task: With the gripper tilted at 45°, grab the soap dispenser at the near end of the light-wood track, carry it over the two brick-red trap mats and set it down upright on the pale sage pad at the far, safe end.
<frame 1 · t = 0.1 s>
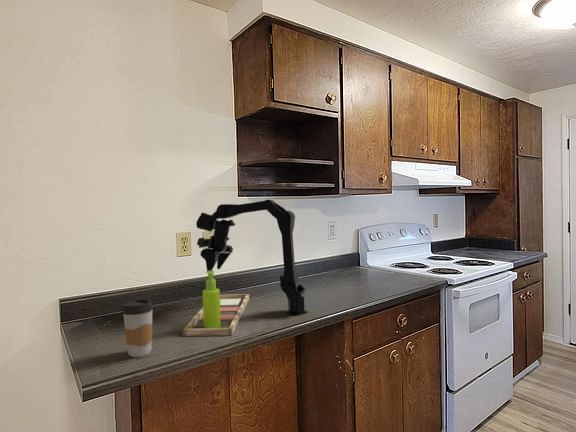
hand: (213, 271, 147), 15 cm above the counter, tool pointing down, fingers open, 9 cm apart
coffee cup: (140, 353, 106), on the counter
trap mats: (221, 313, 140), resting in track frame
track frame: (221, 313, 140), on the counter
soap dispenser: (212, 328, 125), resting in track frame
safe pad: (229, 302, 156), resting in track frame
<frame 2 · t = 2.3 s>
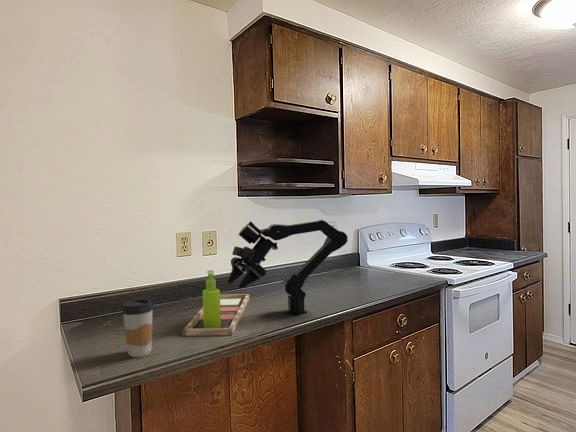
hand: (233, 285, 129), 13 cm above the counter, tool tilted 45°, fingers open, 9 cm apart
nothing on the counter moved.
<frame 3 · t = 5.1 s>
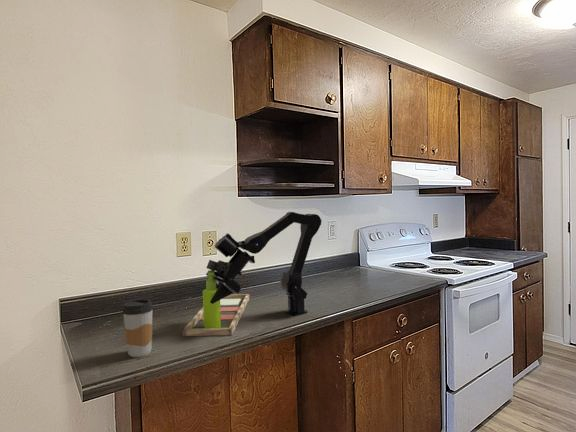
hand: (207, 300, 124), 10 cm above the counter, tool tilted 45°, fingers closed on soap dispenser, 6 cm apart
soap dispenser: (212, 328, 125), resting in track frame, touching gripper
everything else where it was.
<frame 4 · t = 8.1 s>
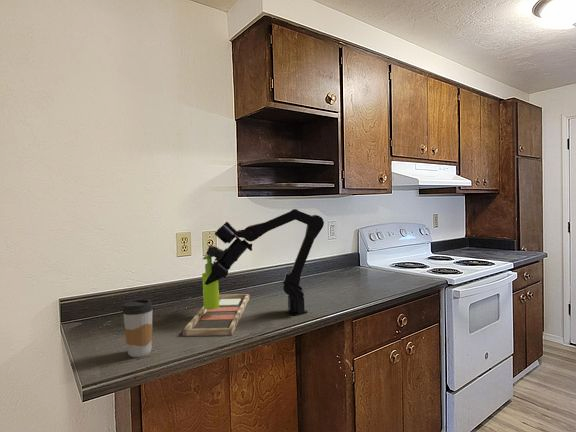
hand: (206, 282, 137), 13 cm above the counter, tool tilted 45°, fingers closed on soap dispenser, 6 cm apart
soap dispenser: (211, 308, 137), point 3 cm above the counter, touching gripper
everything else where it was.
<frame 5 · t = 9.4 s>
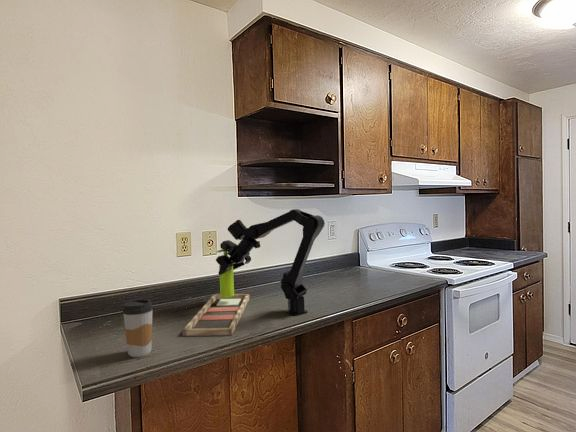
hand: (223, 272, 154), 13 cm above the counter, tool tilted 45°, fingers closed on soap dispenser, 6 cm apart
soap dispenser: (226, 296, 154), point 3 cm above the counter, touching gripper
everything else where it was.
when the fingers open (11 cm above the counter, at t = 10.7 s): soap dispenser stays where it is, resting on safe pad.
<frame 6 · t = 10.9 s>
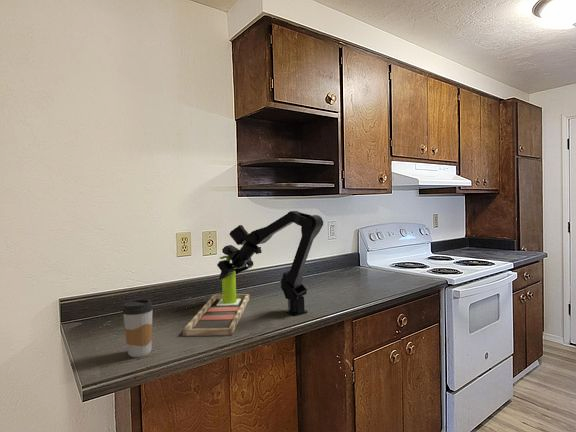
hand: (225, 277, 156), 11 cm above the counter, tool tilted 45°, fingers open, 7 cm apart
soap dispenser: (228, 302, 155), resting on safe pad
everything else where it was.
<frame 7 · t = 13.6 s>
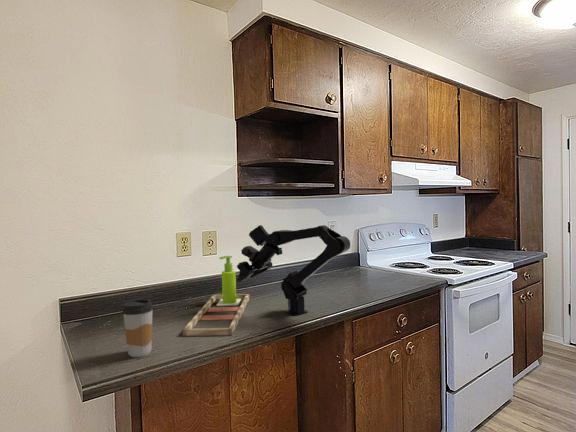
hand: (244, 279, 151), 11 cm above the counter, tool tilted 45°, fingers open, 9 cm apart
nothing on the counter moved.
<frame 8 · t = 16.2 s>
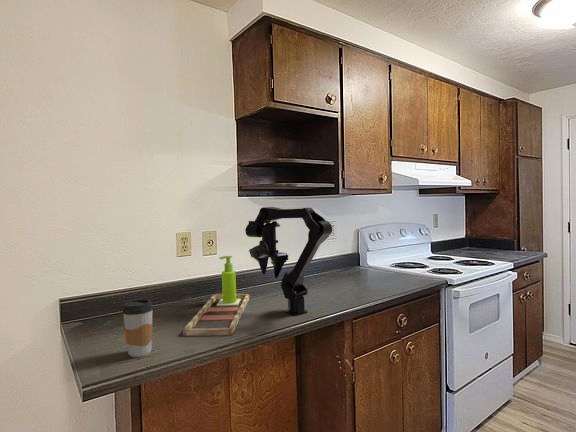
hand: (270, 276, 146), 13 cm above the counter, tool pointing down, fingers open, 9 cm apart
nothing on the counter moved.
at the end: soap dispenser inside the target area (0.6 cm from its centre), resting on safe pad; soap dispenser tilted 0°; the gripper is holding nothing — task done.
